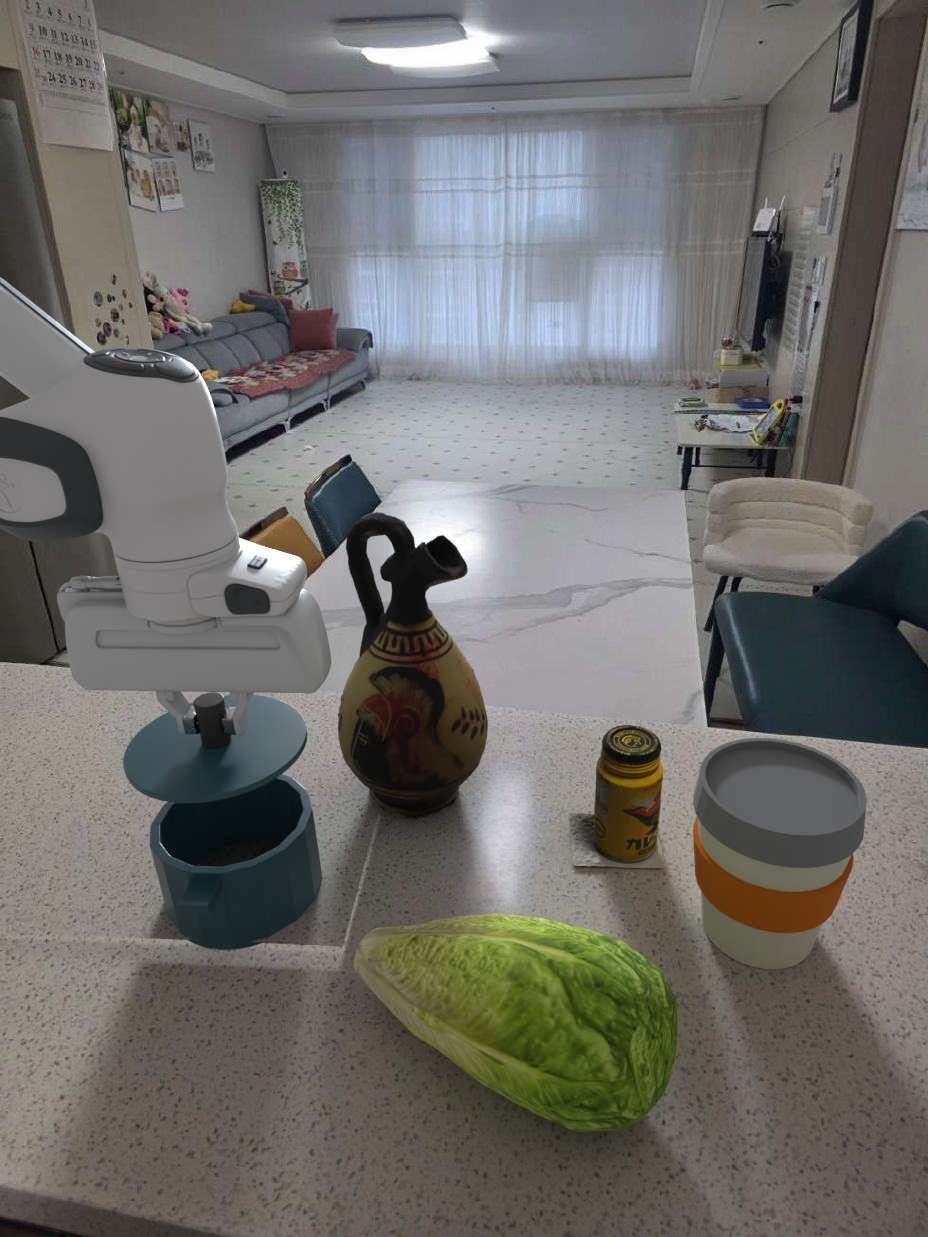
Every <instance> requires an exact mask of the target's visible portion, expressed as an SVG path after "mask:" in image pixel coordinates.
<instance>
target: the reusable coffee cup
mask: <svg viewBox="0 0 928 1237" xmlns="http://www.w3.org/2000/svg"><path fill="white" fill-rule="evenodd" d="M692 798H693V799H692V804H693V805H692V806H693V809H694V813H695V815H696V817H695V818H694V822H693V827H692V828H693V829H692V834H693V835H692V836H693V837H692V838H693V859H694V860H693V861H694V862H693V863H694V876H695V880H696V883H697V885H698V888H699V890H700V900H701V902H700V903H701V920H702V926H703V928H704V929H703V930H704V931H705V933H706V935H707V937H708V938H709V940H710V941H711V942H712V943H713V945H714V946H716V947H717V949H718V950H720V951H721V952H722V953H724V955H726V956H727V957H728V958H730V959H733V960H735V961H737V962H738V963H741V964H743V965H747V966H749V967H752V968H757V969H763V970H782V969H788V968H791V967H793V966H794V967H795V966H796V965H798V964H799V963H802V962H803V961H804V960H805V959H806V958H807V957H808V956H809V955H810V953H811V951H812V949H813V947H814V945H815V942H816V940H817V937H818V935H819V932H820V931H821V928H822V926H823V924H824V923H826V922H827V921H828V920H829V918H831V917H832V916H833V914H834V911H835V909H836V908H837V905H838V904H839V901H840V898H841V896H842V894H843V891H844V889H845V887H846V884H847V882H848V880H849V877H850V875H851V873H852V870H853V866H854V853H855V852H856V851H857V850H858V849H859V848H860V846H861V844H862V842H863V840H864V834H865V826H866V825H865V824H866V814H867V813H866V812H867V799H868V798H867V794H866V790H865V788H864V786H863V784H862V782H861V781H860V779H859V778H858V777H857V775H856V774H855V773H854V772H853V771H852V770H851V769H850V768H849V767H847V766H846V765H845V764H844V763H842V762H841V761H840V760H838V759H837V758H835V757H833V756H831V755H830V754H828V753H825V752H823V751H821V750H820V749H819V750H818V749H817V748H815V747H811V746H808V745H805V744H803V743H799V742H795V741H790V740H786V739H777V738H770V737H751V738H741V739H736V740H732V741H729V742H726V743H724V744H721V745H718V746H717V747H715V748H714V749H712V750H711V751H709V752H708V753H707V755H706V756H705V757H704V758H703V760H702V763H701V765H700V767H699V772H698V776H697V779H696V783H695V787H694V791H693V797H692Z"/></svg>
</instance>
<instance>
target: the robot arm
mask: <svg viewBox="0 0 928 1237" xmlns="http://www.w3.org/2000/svg"><path fill="white" fill-rule="evenodd" d="M0 377H1V378H3V379H4V380H6V381H7V382H8V383H10V384H11V385H12V386H14V387H15V388H16V389H18V390H19V391H20V392H22V393H23V394H24V395H26V396H27V397H28V399H25V400H23V401H21V402H18V403H15V404H13V405H10V406H8V407H5V408H2V409H0V529H1V530H3V531H4V532H6V533H7V534H10V535H12V536H14V537H15V538H18V539H19V538H20V539H22V540H25V541H28V542H32V543H33V542H34V543H44V542H45V543H46V542H56V541H57V542H58V541H62V540H63V541H64V540H70V539H76V538H81V537H84V536H88V535H90V534H94V533H95V534H101V535H104V536H106V537H107V538H108V539H109V542H110V545H111V547H112V553H113V556H114V561H115V566H116V570H117V574H118V575H104V576H89V575H77V576H72V577H71V578H70V580H69V581H66V582H65V583H63V584H62V585H61V586H60V587H59V589H58V592H57V595H56V602H57V605H58V609H59V613H60V616H61V619H62V621H63V622H64V623H65V624H64V633H65V646H66V652H67V653H66V654H67V659H68V665H69V670H70V674H71V677H72V679H73V680H74V681H75V682H76V684H78V686H80V687H81V688H82V689H84V690H85V691H112V692H113V691H115V692H116V691H117V692H119V691H120V692H122V691H123V692H155V695H156V698H157V702H158V703H159V704H160V705H161V706H162V707H163V708H164V709H165V710H166V711H167V712H169V713H170V714H171V715H172V716H173V717H174V718H176V721H177V725H178V729H179V733H180V734H199V733H200V732H199V727H198V723H197V718H196V713H195V709H194V706H191V704H190V703H191V702H190V701H188V699H187V697H185V695H184V694H183V692H185V693H186V692H187V693H189V692H192V693H195V692H196V693H210V692H216V693H229V695H230V698H231V701H232V702H237V701H238V705H237V707H229V708H228V709H227V711H226V714H224V716H223V717H222V725H223V727H224V728H225V729H224V734H225V735H244V733H245V732H246V730H247V728H248V717H247V711H246V708H247V707H248V705H249V703H250V700H251V698H252V696H253V695H255V693H257V694H258V693H260V694H261V693H265V694H267V693H269V694H314V693H316V692H317V691H318V690H319V689H320V688H321V687H322V685H323V684H325V681H326V680H327V678H328V676H329V673H330V671H331V667H332V655H331V647H330V642H329V637H328V636H329V635H328V633H327V628H326V624H325V620H324V617H323V613H322V610H321V608H320V605H319V603H318V601H317V600H316V598H315V597H314V596H313V595H312V594H311V593H310V591H308V590H306V589H304V587H305V584H306V581H307V578H308V569H307V564H306V562H305V561H304V560H303V559H302V557H299V556H297V555H293V554H291V553H286V552H283V551H280V550H277V549H273V548H269V547H266V546H263V545H261V544H257V543H254V542H251V541H249V540H246V539H243V538H240V536H239V530H238V526H237V522H236V521H235V518H234V516H233V515H232V513H231V510H230V508H229V503H228V485H229V469H228V463H227V457H226V452H225V448H224V442H223V437H222V433H221V427H220V424H219V420H218V416H217V413H216V408H215V405H214V402H213V399H212V396H211V394H210V391H209V389H208V386H207V384H206V382H205V380H204V378H203V376H202V374H201V373H200V371H199V370H198V368H196V366H195V365H194V364H192V363H191V362H189V361H187V360H185V359H184V358H182V357H181V356H179V355H176V354H173V353H170V352H166V351H162V350H157V349H150V348H142V347H141V348H140V347H138V348H126V347H117V348H115V347H114V348H107V349H101V350H97V351H95V350H93V349H92V348H91V347H89V346H88V345H87V344H85V343H84V342H83V341H82V340H80V339H79V337H77V336H75V335H74V334H73V333H71V331H70V330H68V329H67V328H65V327H64V326H63V325H61V323H59V322H58V321H57V320H55V319H54V318H53V317H51V316H50V315H48V314H47V312H45V311H44V310H43V309H41V308H40V307H39V306H38V305H36V304H35V303H34V302H32V301H31V300H30V299H29V298H28V297H26V296H25V295H24V294H23V293H21V292H20V291H19V290H18V289H16V287H13V286H12V285H11V284H10V283H9V282H8V281H6V280H5V279H3V278H2V277H1V276H0Z"/></svg>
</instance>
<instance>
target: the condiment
mask: <svg viewBox="0 0 928 1237" xmlns="http://www.w3.org/2000/svg"><path fill="white" fill-rule="evenodd" d="M661 752H662V744H661V740H660V739H659V737H658V736H657V735H656V734H655V733H654V732H653V731H652V730H649V729H647V728H645V727H643V726H639V725H632V724H621V725H616V726H614V727H612V728H611V729H609V730H608V731H607V732H606V733H605V734H604V735H603V736H602V739H601V750H600V756H599V757H598V759H597V761H596V767H595V793H594V808H593V810H594V811H593V812H594V813H592V814H591V813H581V812H575V813H574V812H573V813H572V812H570V813H569V827H570V828H569V829H570V840H571V842H570V843H571V853H572V856H571V857H572V866H573V867H610V868H612V867H614V868H626V869H628V868H629V869H631V868H634V869H664V868H666V864H665V863H666V862H665V858H664V854H663V850H662V845H661V841H660V836H659V824H660V814H661V805H662V804H661V803H662V801H661V798H662V791H663V790H662V789H663V781H664V774H663V773H664V766H663V763H662V762H661Z"/></svg>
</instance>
